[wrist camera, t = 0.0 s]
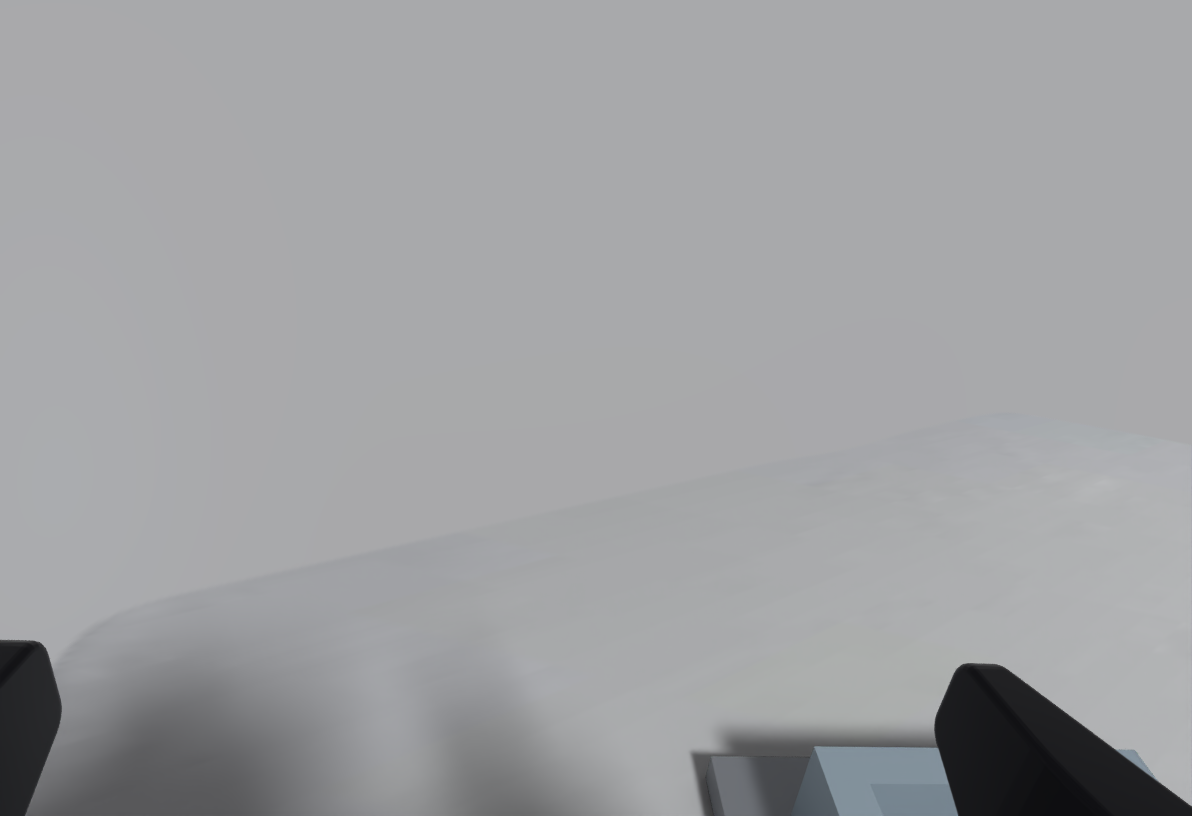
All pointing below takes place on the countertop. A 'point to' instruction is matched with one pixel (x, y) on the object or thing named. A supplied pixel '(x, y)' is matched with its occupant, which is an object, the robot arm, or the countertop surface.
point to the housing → (838, 783)
